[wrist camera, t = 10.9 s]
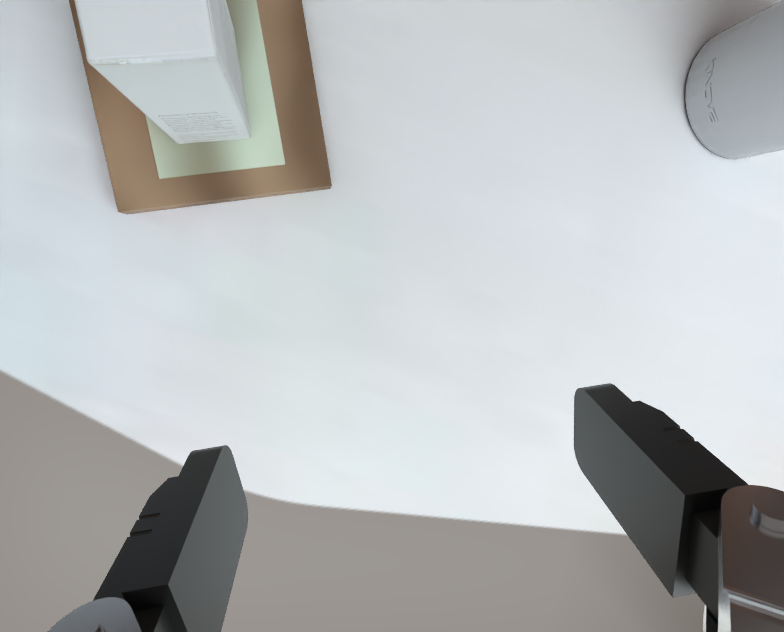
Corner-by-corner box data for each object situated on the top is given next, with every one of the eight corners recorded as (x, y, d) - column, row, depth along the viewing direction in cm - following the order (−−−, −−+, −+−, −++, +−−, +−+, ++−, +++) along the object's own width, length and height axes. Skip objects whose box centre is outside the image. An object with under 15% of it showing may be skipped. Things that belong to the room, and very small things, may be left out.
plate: (296, -17, 28) (296, -33, 27) (329, 188, 30) (331, 185, 28) (76, -7, 26) (62, -24, 24) (127, 214, 28) (117, 211, 26)
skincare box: (153, 32, 25) (36, -156, 14) (235, 29, 26) (188, -151, 15) (175, 149, 26) (82, 64, 15) (253, 142, 27) (224, 57, 16)
